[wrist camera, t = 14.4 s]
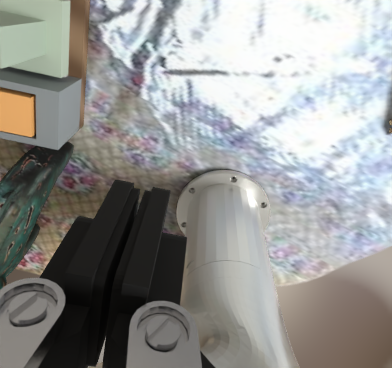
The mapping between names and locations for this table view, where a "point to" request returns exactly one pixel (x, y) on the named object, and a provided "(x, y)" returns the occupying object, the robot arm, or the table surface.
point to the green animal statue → (26, 201)
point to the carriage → (35, 35)
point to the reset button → (17, 112)
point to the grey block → (46, 106)
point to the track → (79, 46)
